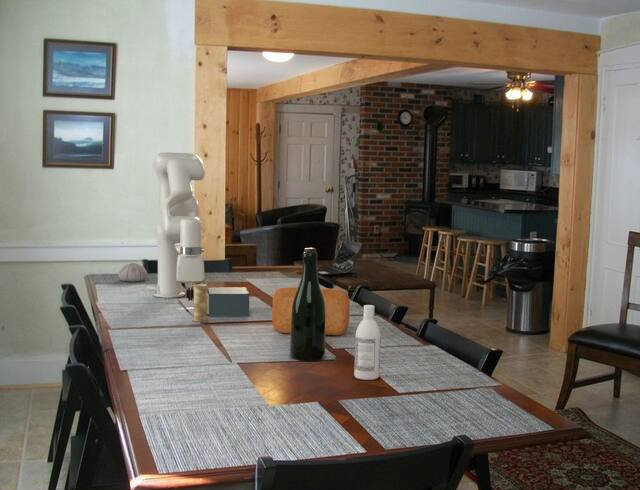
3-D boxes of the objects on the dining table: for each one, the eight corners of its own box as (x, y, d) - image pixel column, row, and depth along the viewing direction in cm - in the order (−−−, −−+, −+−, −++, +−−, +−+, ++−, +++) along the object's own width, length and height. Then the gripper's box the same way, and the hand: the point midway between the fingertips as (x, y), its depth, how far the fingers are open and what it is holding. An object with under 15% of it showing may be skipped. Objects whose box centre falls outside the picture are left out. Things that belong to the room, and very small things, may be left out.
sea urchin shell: (143, 283, 366) (143, 265, 365) (113, 282, 366) (113, 264, 365) (151, 278, 379) (151, 262, 378) (122, 277, 379) (122, 261, 378)
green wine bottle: (310, 363, 233) (313, 250, 228) (282, 357, 239) (285, 247, 234) (331, 356, 242) (335, 248, 237) (304, 351, 247) (306, 245, 243)
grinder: (193, 322, 285) (194, 286, 283) (193, 319, 290) (193, 283, 288) (206, 321, 286) (207, 285, 284) (206, 319, 291) (206, 283, 289)
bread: (348, 290, 266) (354, 286, 284) (271, 287, 269) (281, 283, 286) (347, 336, 267) (353, 330, 285) (270, 333, 270) (280, 326, 287)
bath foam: (365, 372, 225) (367, 302, 222) (384, 377, 221) (387, 306, 218) (348, 377, 220) (351, 305, 217) (368, 382, 215) (370, 309, 213)
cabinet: (209, 316, 295) (209, 293, 294) (207, 309, 309) (207, 287, 308) (249, 316, 299) (249, 293, 298) (245, 308, 313) (245, 287, 312)
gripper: (210, 250, 303) (210, 298, 305) (169, 250, 299) (169, 298, 301) (211, 252, 295) (211, 301, 298) (170, 252, 292) (170, 302, 294)
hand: (190, 300), depth 300 cm, fingers closed
